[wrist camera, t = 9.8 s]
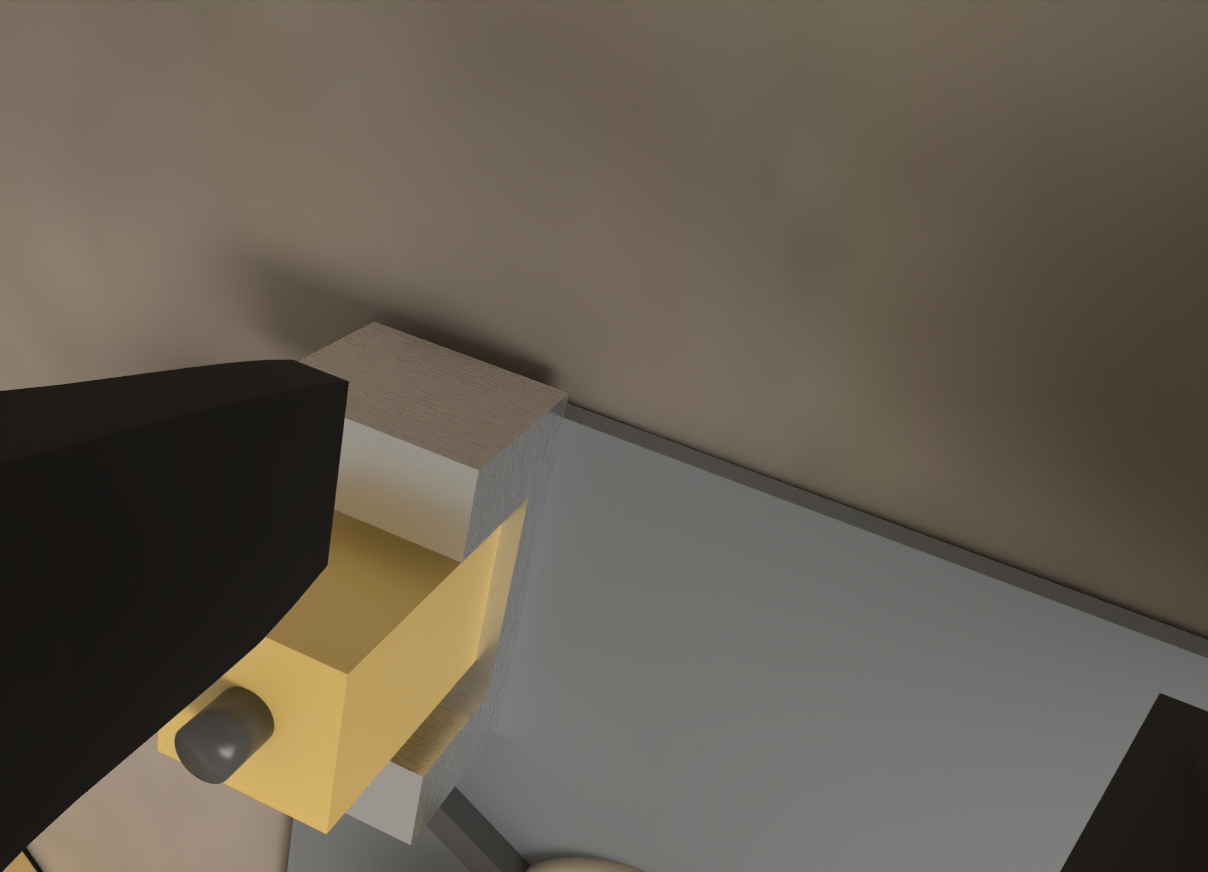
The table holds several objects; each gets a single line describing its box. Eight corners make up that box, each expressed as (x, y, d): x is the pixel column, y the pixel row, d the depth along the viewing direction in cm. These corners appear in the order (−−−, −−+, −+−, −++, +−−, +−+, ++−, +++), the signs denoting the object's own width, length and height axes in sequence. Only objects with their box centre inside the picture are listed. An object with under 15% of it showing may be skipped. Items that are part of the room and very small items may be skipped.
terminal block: (568, 392, 20) (478, 470, 17) (496, 732, 24) (410, 845, 21) (374, 321, 21) (255, 383, 18) (331, 658, 25) (228, 755, 22)
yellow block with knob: (502, 523, 20) (306, 714, 15) (474, 661, 22) (287, 879, 17) (349, 461, 21) (114, 624, 16) (332, 599, 23) (112, 789, 18)
